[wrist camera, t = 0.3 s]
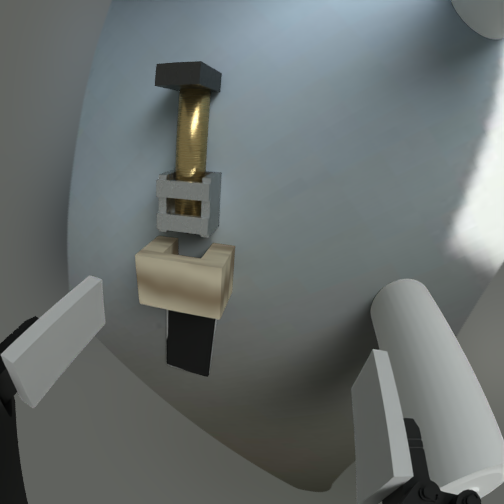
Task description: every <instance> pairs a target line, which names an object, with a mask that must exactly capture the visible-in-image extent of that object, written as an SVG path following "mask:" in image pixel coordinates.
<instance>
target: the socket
mask: <svg viewBox="0 0 504 504" xmlns="http://www.w3.org/2000/svg"><path fill="white" fill-rule="evenodd" d="M234 254H235V246H232V245H224V244H217V243H213V244H212V245H211V246H210V248H209V249H208V250H207V251H206V253H205V254H204V255H203V257H202V258H195V257H188V256H181V255H178V238H173V237H165V236H158V237H156V238H155V239H154V240H153V241H151V242H150V243H149V244H148V245H147V246H145V247H144V248H143V249H142V250H140V251H139V252H138V253H137V254H136V255H135V260H136V272H137V283H138V292H139V301H140V304H144V305H149V306H153V307H158V308H163V309H167V310H172V311H177V312H182V313H187V314H192V315H198V316H203V317H208V318H214V319H219V320H220V318H221V316H222V314H223V312H224V309H225V307H226V305H227V302H228V300H229V298H230V296H231V293H232V287H233V270H234Z"/></svg>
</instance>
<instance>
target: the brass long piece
mask: <svg viewBox="0 0 504 504" xmlns="http://www.w3.org/2000/svg"><path fill="white" fill-rule="evenodd" d="M221 75H222V73H220V72H218V71H217V70H215V69H213V68H212V67H210V66H208V65H206V64H205V63H203V62H201V61H200V62H177V63H163V64H157V66H156V77H155V86H158V87H163V88H167V89H172V90H176V91H180V93H179V107H178V123H177V143H176V171H175V180H181V181H194V182H202V178H203V177H205V174H206V155H207V137H208V122H209V108H210V95H211V92H220V87H221ZM201 204H202V201H198V200H187V199H177V198H175V214H185V215H193V216H201Z"/></svg>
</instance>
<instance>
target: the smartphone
mask: <svg viewBox="0 0 504 504" xmlns="http://www.w3.org/2000/svg"><path fill="white" fill-rule="evenodd" d="M166 321H167V364H168V365H169V366H172V367H176V368H179V369H182V370H185V371H189V372H192V373H196V374H199V375H203V376H207V377H208V375H209V374H210V367H211V359H212V350H213V342H214V335H215V331H216V326H217V319H214V318H208V317H203V316H198V315H192V314H187V313H182V312H177V311H172V310H167V318H166Z"/></svg>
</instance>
